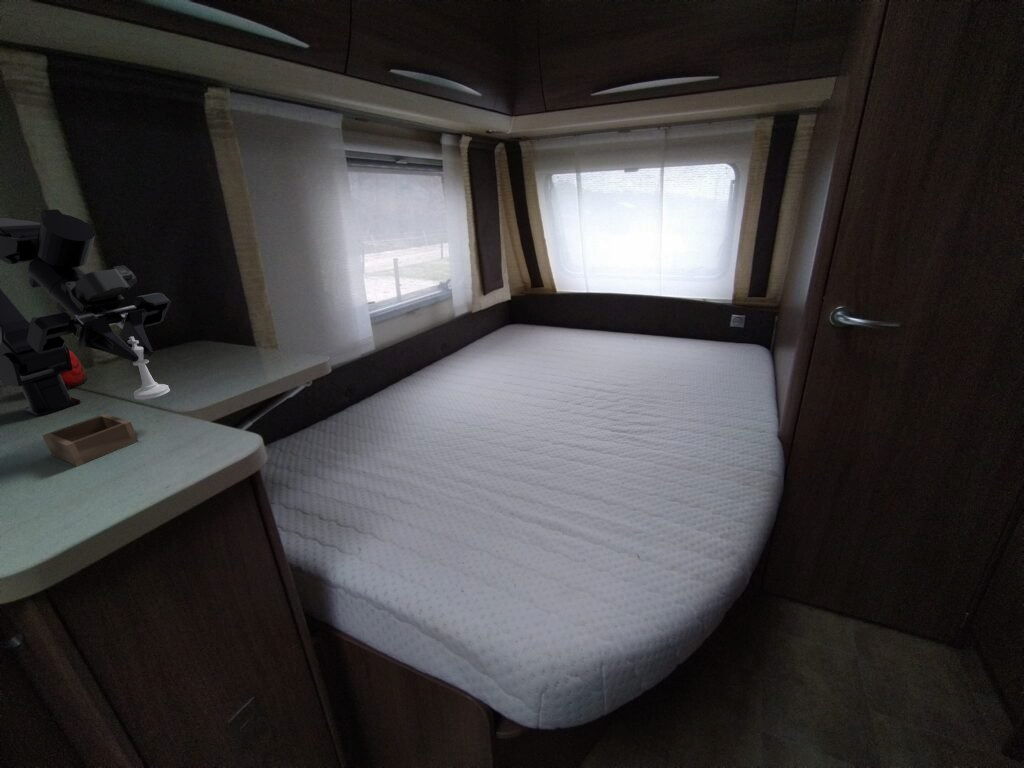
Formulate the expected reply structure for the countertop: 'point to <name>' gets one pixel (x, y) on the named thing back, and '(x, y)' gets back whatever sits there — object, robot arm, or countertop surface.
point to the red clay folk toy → (74, 373)
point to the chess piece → (146, 376)
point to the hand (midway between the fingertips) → (144, 357)
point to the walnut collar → (90, 439)
